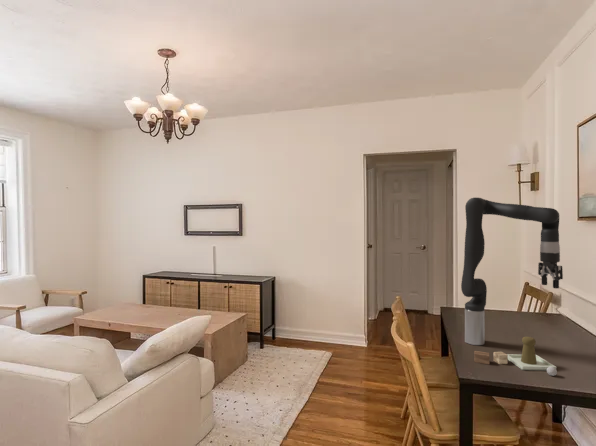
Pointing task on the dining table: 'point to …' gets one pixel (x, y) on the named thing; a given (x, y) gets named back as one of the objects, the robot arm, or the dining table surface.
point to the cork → (528, 351)
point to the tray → (540, 364)
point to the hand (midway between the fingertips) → (550, 286)
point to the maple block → (500, 358)
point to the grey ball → (551, 371)
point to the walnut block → (481, 357)
